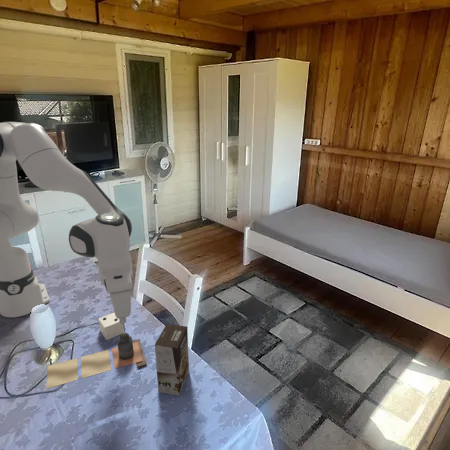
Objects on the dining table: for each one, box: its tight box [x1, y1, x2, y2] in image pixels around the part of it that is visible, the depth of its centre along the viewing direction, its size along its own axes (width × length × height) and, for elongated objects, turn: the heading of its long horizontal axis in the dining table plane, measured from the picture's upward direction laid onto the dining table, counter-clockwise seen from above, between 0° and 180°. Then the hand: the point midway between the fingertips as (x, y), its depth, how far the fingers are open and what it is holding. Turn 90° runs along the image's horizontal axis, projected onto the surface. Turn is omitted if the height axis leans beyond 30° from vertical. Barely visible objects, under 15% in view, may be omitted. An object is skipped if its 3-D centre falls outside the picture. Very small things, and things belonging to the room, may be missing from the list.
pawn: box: [116, 331, 134, 360], centre depth 100 cm, size 4×4×8 cm
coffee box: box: [154, 323, 190, 397], centre depth 90 cm, size 9×6×16 cm
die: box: [98, 312, 125, 341], centre depth 110 cm, size 6×6×6 cm
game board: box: [45, 338, 148, 390], centre depth 98 cm, size 12×28×1 cm, turn 114°
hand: (120, 312), depth 96 cm, fingers open, 8 cm apart
